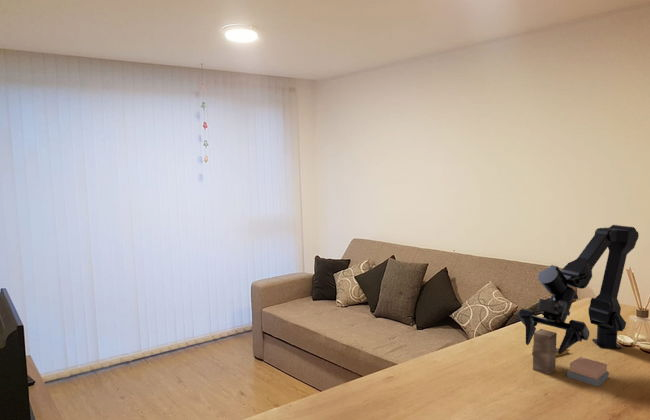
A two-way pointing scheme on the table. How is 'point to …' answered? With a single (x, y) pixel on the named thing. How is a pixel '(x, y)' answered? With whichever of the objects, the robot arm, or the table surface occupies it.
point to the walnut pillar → (544, 351)
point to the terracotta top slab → (588, 367)
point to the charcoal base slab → (588, 378)
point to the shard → (556, 351)
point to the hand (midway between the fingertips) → (542, 348)
